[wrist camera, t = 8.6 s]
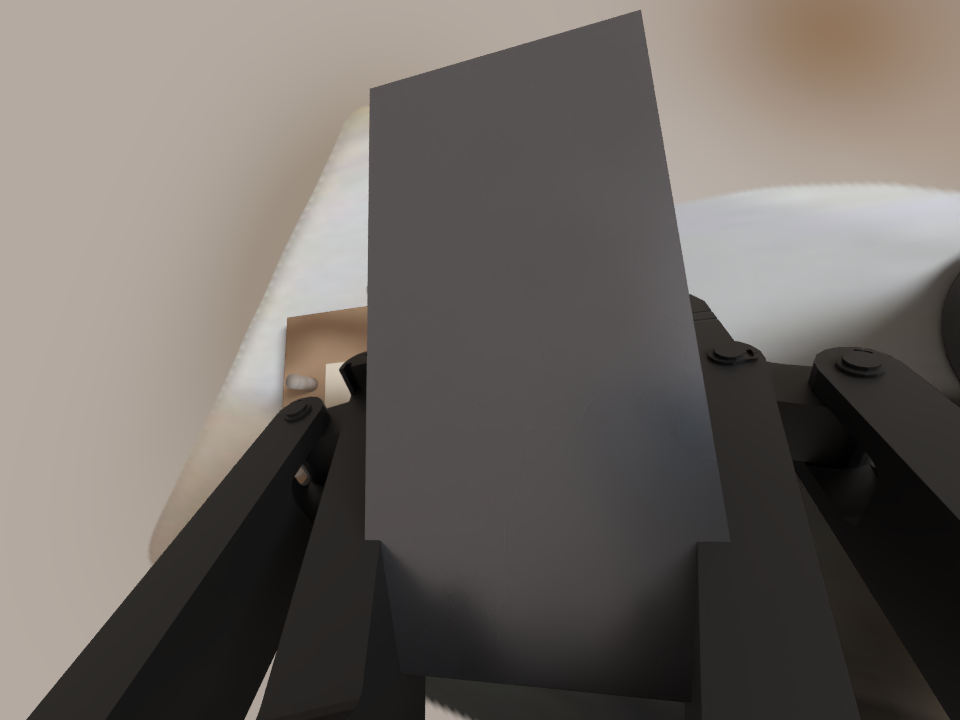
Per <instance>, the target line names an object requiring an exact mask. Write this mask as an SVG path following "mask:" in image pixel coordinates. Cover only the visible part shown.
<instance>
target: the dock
mask: <svg viewBox="0 0 960 720" xmlns="http://www.w3.org/2000/svg"><path fill="white" fill-rule="evenodd" d="M365 351H367V306H365V307H358V308H351V309H344V310H337V311H331V312H324V313H317V314H310V315H303V316H296V317H289V318H287V334H286V353H285V372H284V391H283V408H284V407H286V406H287V405H289V404H290V403H291V402H293V401H295V400H296V401H297V400H298V399H301V398H306V397H310V396H311V397H319V398H320V399H322V401H323V402H324V404H325V406H326V408H329V407H333V406H336V405H339V404H343V403H346V402H349V400H350V397H351V394H350V392H349V390H348V388H347V386H346V384H345V382H344V380H343V378H342V376H341V374H340V372H339V369H340V367H341V366H342V364H343V363H345V362H346V361H347V360H348V359H350V358H351V357H353V356H355V355H357V354H360V353H363V352H365ZM295 477H296V479H297V480H298V482H299V483H300V484H302V483H303V482H304V481H305V479H306V478H307V475H306V473H305V472H304V470H303V469H302V467H300V469H299V470H298V472H297V474H296V475H295Z"/></svg>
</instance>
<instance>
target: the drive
mask: <svg viewBox="0 0 960 720" xmlns="http://www.w3.org/2000/svg"><path fill="white" fill-rule="evenodd" d="M365 540H380V543H381V550H382V556H383V562H384V569H385V575H386V582H387V588H388V594H389V601H390V607H391V614H392V620H393V626H394V633H395V639H396V645H397V652H398V658H399V665H400V671H401V673H402V674H412V675H422V676H431V677H441V678H451V679H461V680H471V681H481V682H491V683H501V684H510V685H520V686H530V687H540V688H550V689H560V690H570V691H580V692H589V693H599V694H609V695H619V696H629V697H639V698H649V699H659V700H669V701H678V702H688V703H691V698H692V672H693V646H694V620H695V595H696V569H697V543H698V542H731V540H730V534H729V528H728V522H727V517H726V511H725V505H724V499H723V493H722V487H721V481H720V475H719V469H718V463H717V457H716V451H715V446H714V440H713V434H712V428H711V422H710V416H709V410H708V404H707V398H706V392H705V386H704V381H703V375H702V369H701V363H700V357H699V351H698V345H697V339H696V333H695V327H694V321H693V316H692V310H691V304H690V298H689V292H688V286H687V280H686V274H685V268H684V262H683V256H682V250H681V245H680V239H679V233H678V227H677V221H676V215H675V209H674V203H673V197H672V192H671V186H670V180H669V174H668V168H667V162H666V156H665V150H664V145H663V138H662V132H661V127H660V121H659V115H658V109H657V103H656V97H655V91H654V85H653V79H652V73H651V67H650V61H649V56H648V50H647V44H646V38H645V32H644V26H643V20H642V14H641V10H638V11H635V12H632V13H629V14H625V15H621V16H618V17H615V18H611V19H608V20H604V21H601V22H597V23H594V24H590V25H587V26H584V27H581V28H577V29H573V30H570V31H566V32H563V33H560V34H556V35H553V36H549V37H546V38H543V39H539V40H536V41H532V42H529V43H525V44H522V45H519V46H515V47H512V48H508V49H505V50H501V51H498V52H495V53H491V54H488V55H484V56H481V57H477V58H474V59H471V60H467V61H464V62H460V63H457V64H454V65H450V66H447V67H443V68H440V69H436V70H433V71H430V72H426V73H423V74H419V75H416V76H413V77H409V78H406V79H402V80H399V81H396V82H392V83H388V84H385V85H382V86H378V87H375V88H372V89H370V128H369V217H368V305H367V394H366V482H365Z"/></svg>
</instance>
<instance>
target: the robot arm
mask: <svg viewBox="0 0 960 720" xmlns="http://www.w3.org/2000/svg"><path fill="white" fill-rule="evenodd" d="M689 298H690V304H691V310H692V316H693V321H694V327H695V333H696V339H697V345H698V351H699V357H700V363H701V369H702V375H703V381H704V386H705V392H706V398H707V404H708V410H709V416H710V422H711V428H712V434H713V440H714V446H715V451H716V457H717V463H718V469H719V475H720V481H721V487H722V493H723V499H724V505H725V511H726V517H727V522H728V528H729V534H730V540H731V542H698V543H697V569H696V595H695V620H694V646H693V672H692V698H691V703H688V702H685V720H861V718H860V715H859V711H858V707H857V703H856V699H855V696H854V692H853V688H852V684H851V681H850V677H849V673H848V669H847V665H846V662H845V658H844V654H843V650H842V647H841V643H840V639H839V635H838V631H837V628H836V624H835V620H834V616H833V612H832V609H831V605H830V601H829V597H828V594H827V590H826V586H825V582H824V578H823V575H822V571H821V567H820V563H819V560H818V556H817V552H816V548H815V544H814V541H813V537H812V533H811V529H810V526H809V522H808V518H807V514H806V510H805V507H804V503H803V499H802V495H801V492H800V488H799V484H798V480H797V476H796V473H797V475H798V477H799V478H800V480H801V481H802V483H803V485H804V486H805V488H806V489H807V491H808V493H809V494H810V496H811V497H812V499H813V501H814V502H815V504H816V505H817V507H818V509H819V510H820V512H821V513H822V515H823V517H824V518H825V520H826V521H827V523H828V525H829V526H830V528H831V529H832V531H833V533H834V534H835V536H836V537H837V539H838V541H839V542H840V544H841V545H842V547H843V549H844V550H845V552H846V553H847V555H848V557H849V558H850V560H851V561H852V563H853V565H854V566H855V568H856V569H857V571H858V573H859V574H860V576H861V577H862V579H863V581H864V582H865V584H866V585H867V587H868V589H869V590H870V592H871V593H872V595H873V597H874V598H875V600H876V601H877V603H878V605H879V606H880V608H881V609H882V611H883V613H884V614H885V616H886V617H887V619H888V621H889V622H890V624H891V625H892V627H893V629H894V630H895V632H896V633H897V635H898V637H899V638H900V640H901V641H902V643H903V645H904V646H905V648H906V649H907V651H908V653H909V654H910V656H911V657H912V659H913V661H914V662H915V664H916V665H917V667H918V669H919V670H920V672H921V673H922V675H923V677H924V678H925V680H926V681H927V683H928V685H929V686H930V688H931V689H932V691H933V693H934V694H935V696H936V697H937V699H938V701H939V702H940V704H941V705H942V707H943V709H944V710H945V712H946V713H947V715H948V717H949V718H950V720H960V408H959V407H958V406H957V405H956V404H954V403H953V402H952V401H951V400H949V399H948V398H947V397H945V396H944V395H943V394H942V393H940V392H939V391H938V390H937V389H935V388H934V387H933V386H932V385H930V384H929V383H928V382H926V381H925V380H924V379H923V378H921V377H920V376H919V375H918V374H916V373H915V372H914V371H912V370H911V369H910V368H909V367H907V366H906V365H905V364H904V363H902V362H900V361H899V360H897V359H895V358H893V357H891V356H889V355H886V354H883V353H880V352H877V351H875V350H871V349H866V348H865V349H862V348H858V347H838V348H832V349H827V350H824V351H822V352H821V353H819V354H817V355H816V358H815V360H814V363H813V367H809V366H797V365H785V364H777V363H771V362H767V361H766V359H765V357H764V355H763V354H762V353H761V351H760V350H758V349H756V348H755V347H753V346H751V345H748V344H745V343H742V342H737V341H734V340H733V339H732V337H731V336H730V335H729V333H728V332H727V331H726V329H725V328H724V327H723V325H722V324H721V323H720V321H719V320H717V317H716V316H715V315H714V313H713V312H711V309H710V308H709V307H708V305H707V304H706V303H705V301H703V300H701V299H699V298H697V297H695V296H693V295H691V294H689ZM942 327H943V339H944V344H945V348H946V352H947V355H948V358H949V360H950V363H951V365H952V367H953V369H954V371H955V373H956V375H957V376H958V378H959V380H960V274H959V275H958V277H957V278H956V280H955V281H954V283H953V285H952V287H951V289H950V291H949V294H948V296H947V299H946V303H945V306H944V312H943V321H942ZM339 372H340V374H341V376H342V378H343V380H344V382H345V384H346V386H347V388H348V390H349V392H350V394H351V397H350V400H349V402H346V403H343V404H339V405H336V406H333V407H329V408H326V406H325V404H324V402H323V401H322V399H320V398H319V397H311V396H310V397H306V398H301V399H298V400H297V401H296V400H295V401H293V402H291V403H290V404H289V405H287V406H286V407H284V408H283V409H282V410H281V411H280V412H279V413H278V414H277V415H276V416H275V417H274V419H273V420H272V421H271V422H270V423H269V425H268V426H267V427H266V428H265V430H264V431H263V432H262V433H261V434H260V436H259V437H258V438H257V439H256V441H255V442H254V443H253V444H252V445H251V447H250V448H249V449H248V450H247V451H246V453H245V454H244V455H243V456H242V458H241V459H240V460H239V461H238V462H237V464H236V465H235V466H234V467H233V469H232V470H231V471H230V472H229V473H228V475H227V476H226V477H225V478H224V480H223V481H222V482H221V483H220V484H219V486H218V487H217V488H216V489H215V490H214V492H213V493H212V494H211V495H210V497H209V498H208V499H207V500H206V501H205V503H204V504H203V505H202V506H201V508H200V509H199V510H198V511H197V512H196V514H195V515H194V516H193V517H192V518H191V520H190V521H189V522H188V523H187V525H186V526H185V527H184V528H183V529H182V531H181V532H180V533H179V534H178V536H177V537H176V538H175V539H174V540H173V542H172V543H171V544H170V545H169V546H168V548H167V549H166V550H165V551H164V553H163V554H162V555H161V556H160V557H159V559H158V560H157V561H156V562H155V564H154V565H153V566H152V567H151V568H150V570H149V571H148V572H147V574H146V575H145V576H144V577H143V578H142V580H141V581H140V582H139V583H138V584H137V586H136V587H135V588H134V589H133V590H132V592H131V593H130V594H129V595H128V596H127V598H126V599H125V600H124V601H123V603H122V604H121V605H120V606H119V607H118V609H117V610H116V611H115V613H113V615H112V616H111V617H110V618H109V620H108V621H107V622H106V623H105V625H104V626H103V627H102V628H101V629H100V631H99V632H98V633H97V634H96V635H95V637H94V638H93V639H92V640H91V642H90V643H89V644H88V645H87V647H86V648H85V649H84V650H83V651H82V653H81V654H80V655H79V656H78V657H77V659H76V660H75V661H74V662H73V663H72V665H71V666H70V667H69V668H68V670H67V671H66V672H65V673H64V674H63V676H62V677H61V678H60V679H59V680H58V682H57V683H56V684H55V685H54V687H53V688H52V689H51V690H50V691H49V693H48V694H47V695H46V696H45V698H44V699H43V700H42V701H41V702H40V704H39V705H38V706H37V707H36V709H35V710H34V711H33V712H32V713H31V715H30V716H29V717H28V718H27V720H244V719H245V717H246V715H247V713H248V710H249V708H250V706H251V704H252V702H253V700H254V698H255V696H256V693H257V691H258V689H259V687H260V685H261V683H262V681H263V679H264V677H265V674H266V672H267V670H268V668H269V666H270V664H271V662H272V659H273V658H274V655H275V653H276V656H275V659H274V663H273V666H272V670H271V673H270V677H269V680H268V684H267V687H266V690H265V694H264V697H263V701H262V704H261V707H260V711H259V713H258V716H257V718H256V720H425V676H422V675H412V674H402V673H401V671H400V665H399V658H398V652H397V645H396V639H395V633H394V626H393V620H392V614H391V607H390V601H389V594H388V588H387V582H386V575H385V569H384V562H383V556H382V550H381V543H380V540H365V482H366V394H367V351H365V352H363V353H360V354H357V355H355V356H353V357H351V358H350V359H348V360H347V361H346V362H345V363H343V364H342V366H341V367H340V369H339ZM300 467H302V469H303V470H304V472H305V473H306V475H307V478H306V479H305V481H304V482H303V483H302V484H300V483H299V482H298V480H297V479H296V477H295V475H296V474H297V472H298V470H299V469H300ZM795 472H796V473H795ZM276 651H277V652H276Z"/></svg>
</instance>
